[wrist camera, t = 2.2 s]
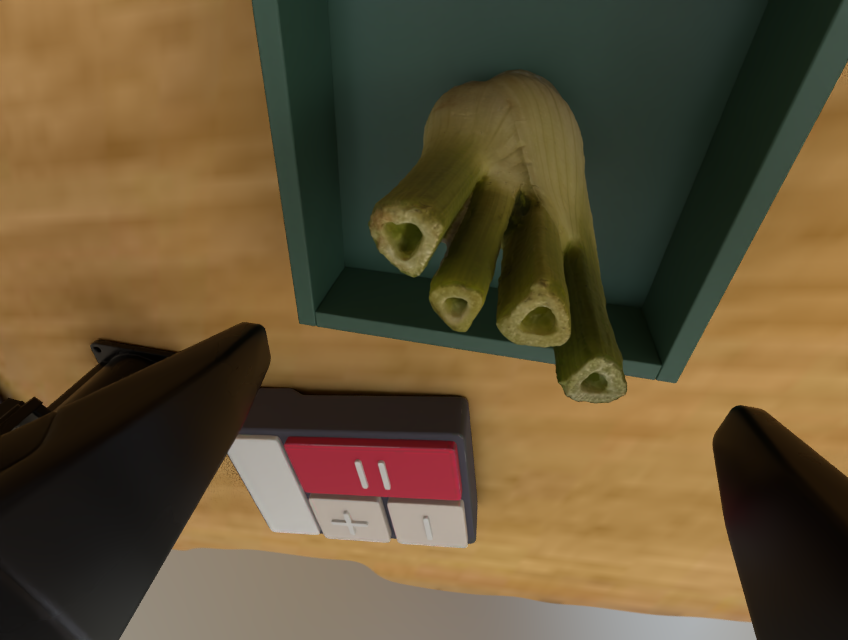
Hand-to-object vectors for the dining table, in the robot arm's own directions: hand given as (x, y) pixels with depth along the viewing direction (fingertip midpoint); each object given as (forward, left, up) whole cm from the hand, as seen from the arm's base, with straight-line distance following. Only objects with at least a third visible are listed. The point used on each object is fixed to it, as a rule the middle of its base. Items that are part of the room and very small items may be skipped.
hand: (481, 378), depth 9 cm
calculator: (-7, -20, -12) cm, 24 cm away
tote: (0, +1, -12) cm, 12 cm away
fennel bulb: (0, +1, -12) cm, 12 cm away
